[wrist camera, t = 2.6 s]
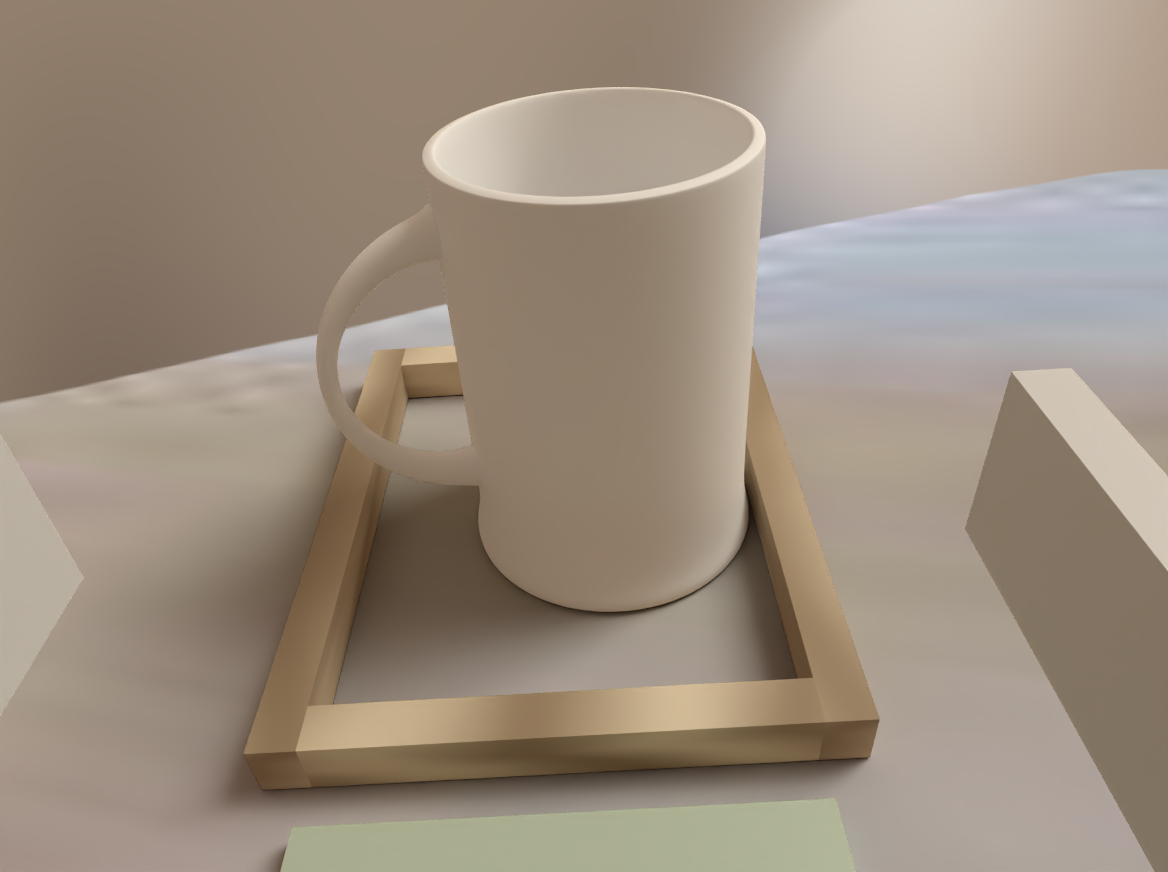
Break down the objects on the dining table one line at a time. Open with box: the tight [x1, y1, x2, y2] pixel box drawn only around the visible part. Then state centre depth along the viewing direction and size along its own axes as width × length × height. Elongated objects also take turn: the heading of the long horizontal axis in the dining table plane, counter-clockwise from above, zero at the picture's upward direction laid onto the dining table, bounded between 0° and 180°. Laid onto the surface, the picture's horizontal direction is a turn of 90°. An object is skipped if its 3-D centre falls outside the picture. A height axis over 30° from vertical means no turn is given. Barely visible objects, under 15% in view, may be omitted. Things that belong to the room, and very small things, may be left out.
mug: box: [316, 87, 766, 612], centre depth 24 cm, size 12×8×12 cm
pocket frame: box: [243, 346, 879, 790], centre depth 27 cm, size 14×17×2 cm
